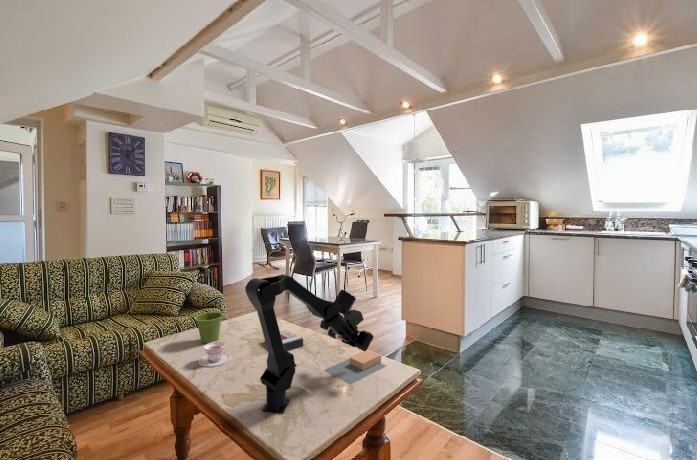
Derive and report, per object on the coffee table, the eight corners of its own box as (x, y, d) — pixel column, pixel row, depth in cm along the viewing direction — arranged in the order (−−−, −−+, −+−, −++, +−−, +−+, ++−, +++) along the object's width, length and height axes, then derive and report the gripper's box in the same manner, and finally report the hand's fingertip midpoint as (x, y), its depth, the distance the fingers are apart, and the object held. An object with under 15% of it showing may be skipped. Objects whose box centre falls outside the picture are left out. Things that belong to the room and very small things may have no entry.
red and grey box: (286, 328, 158) (303, 336, 146) (286, 338, 158) (303, 346, 146) (264, 334, 151) (280, 343, 139) (264, 344, 151) (280, 353, 139)
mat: (350, 385, 114) (350, 384, 114) (323, 370, 124) (323, 369, 124) (386, 367, 126) (386, 366, 126) (359, 355, 137) (359, 354, 137)
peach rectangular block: (362, 363, 123) (381, 354, 129) (349, 357, 128) (367, 349, 135) (362, 371, 123) (381, 362, 130) (349, 364, 128) (367, 356, 135)
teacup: (218, 369, 126) (217, 353, 126) (191, 365, 130) (190, 349, 129) (237, 355, 138) (237, 340, 137) (212, 352, 141) (212, 337, 141)
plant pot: (191, 340, 154) (190, 315, 153) (218, 333, 162) (217, 310, 161) (200, 348, 145) (199, 322, 144) (228, 340, 153) (227, 316, 152)
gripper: (369, 310, 115) (390, 333, 124) (333, 299, 129) (354, 321, 137) (352, 339, 110) (376, 362, 119) (317, 325, 124) (340, 346, 132)
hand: (361, 346), depth 127 cm, fingers closed
